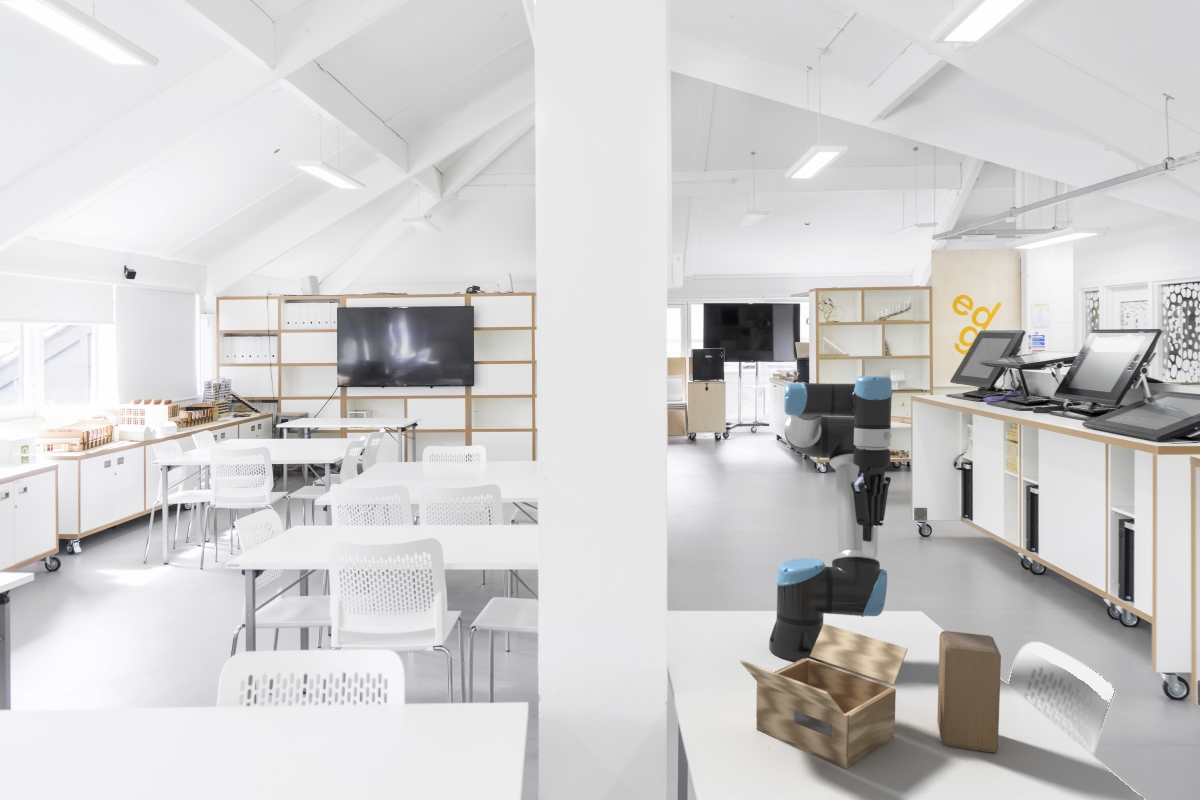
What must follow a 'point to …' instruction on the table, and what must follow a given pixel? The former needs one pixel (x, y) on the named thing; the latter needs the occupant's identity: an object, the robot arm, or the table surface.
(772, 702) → the carton
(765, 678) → the flap near
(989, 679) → the wooden block
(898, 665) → the flap far
